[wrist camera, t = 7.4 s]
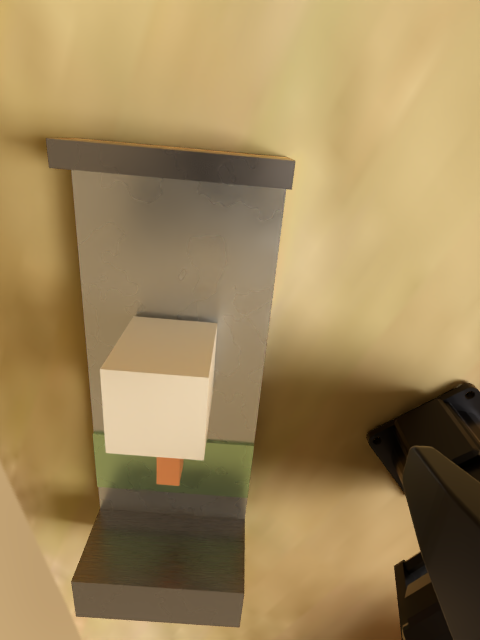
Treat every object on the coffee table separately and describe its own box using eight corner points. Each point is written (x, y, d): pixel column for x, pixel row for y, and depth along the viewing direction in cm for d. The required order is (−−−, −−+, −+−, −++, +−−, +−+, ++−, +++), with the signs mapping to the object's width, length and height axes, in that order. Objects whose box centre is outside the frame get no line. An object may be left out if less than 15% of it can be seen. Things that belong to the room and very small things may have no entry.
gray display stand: (78, 138, 17) (8, 138, 12) (287, 157, 17) (304, 165, 12) (107, 527, 27) (76, 616, 22) (240, 537, 27) (239, 627, 22)
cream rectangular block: (133, 316, 19) (99, 369, 15) (217, 323, 19) (208, 377, 15) (137, 460, 23) (111, 536, 18) (207, 465, 23) (198, 543, 18)
